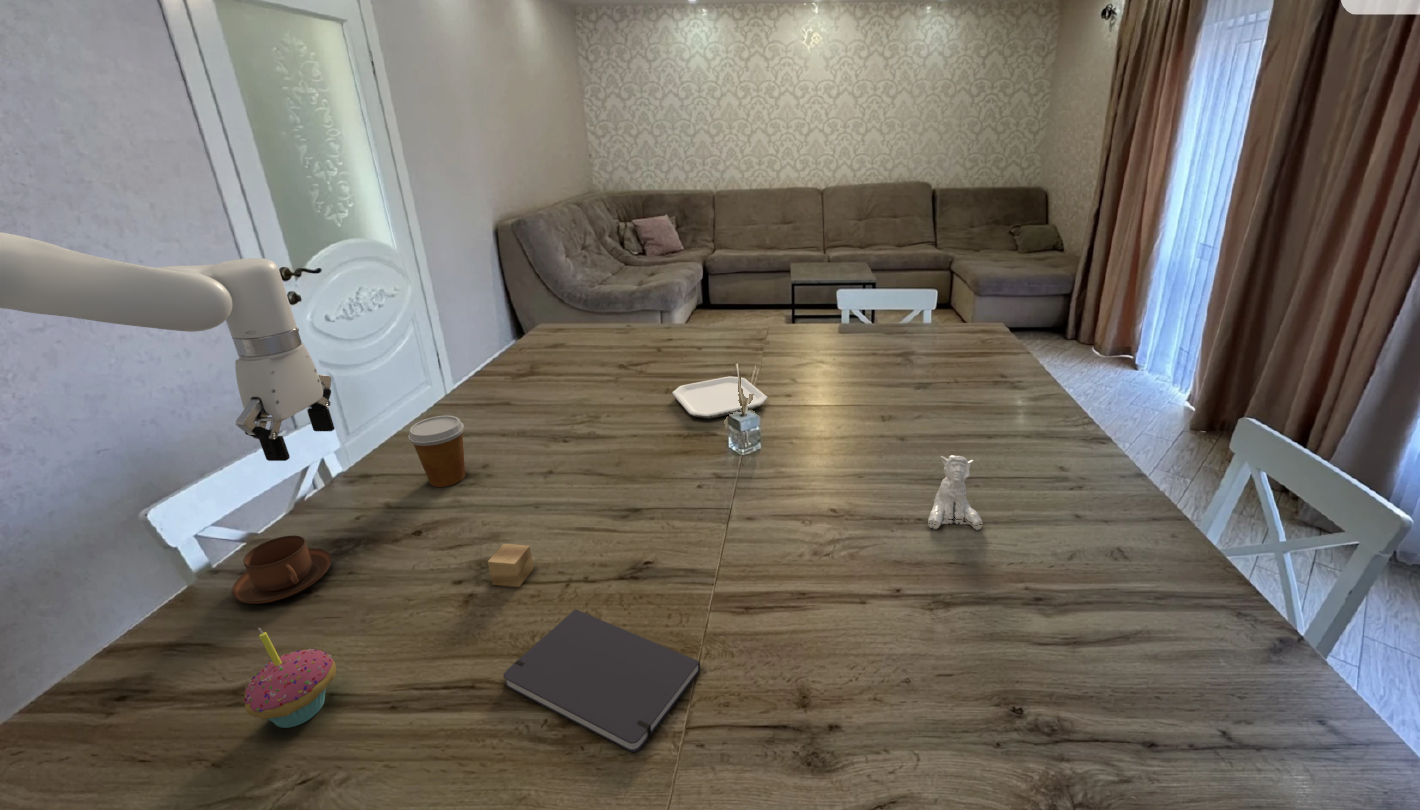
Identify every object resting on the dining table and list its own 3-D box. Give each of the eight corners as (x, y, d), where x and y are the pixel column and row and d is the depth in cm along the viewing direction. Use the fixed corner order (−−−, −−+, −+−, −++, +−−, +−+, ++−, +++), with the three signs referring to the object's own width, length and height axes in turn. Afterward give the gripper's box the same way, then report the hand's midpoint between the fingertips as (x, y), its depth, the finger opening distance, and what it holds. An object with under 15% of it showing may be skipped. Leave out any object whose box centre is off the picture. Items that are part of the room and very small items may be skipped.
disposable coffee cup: (480, 479, 122) (468, 426, 118) (426, 497, 116) (412, 441, 112) (466, 461, 129) (455, 410, 125) (415, 477, 123) (401, 424, 119)
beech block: (519, 587, 93) (514, 564, 92) (492, 585, 94) (487, 561, 92) (534, 568, 97) (529, 545, 96) (508, 566, 98) (503, 543, 96)
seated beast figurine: (928, 530, 106) (933, 470, 102) (919, 502, 114) (924, 445, 110) (982, 531, 106) (990, 471, 102) (970, 503, 114) (977, 446, 110)
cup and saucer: (353, 564, 98) (342, 532, 96) (277, 618, 87) (264, 583, 85) (294, 552, 101) (283, 521, 99) (214, 603, 90) (200, 569, 88)
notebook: (700, 670, 79) (576, 617, 87) (700, 661, 78) (575, 608, 87) (636, 755, 68) (502, 684, 77) (635, 745, 67) (500, 675, 76)
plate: (668, 395, 161) (667, 387, 160) (740, 381, 170) (740, 373, 169) (695, 426, 144) (694, 418, 143) (773, 408, 153) (773, 400, 152)
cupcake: (237, 731, 71) (202, 652, 67) (310, 673, 78) (282, 598, 74) (292, 751, 69) (258, 671, 64) (361, 689, 76) (336, 614, 72)
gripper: (289, 325, 99) (319, 420, 105) (189, 363, 83) (232, 473, 89) (334, 325, 99) (362, 420, 105) (244, 363, 83) (283, 473, 89)
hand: (302, 444), depth 97 cm, fingers open, 9 cm apart
